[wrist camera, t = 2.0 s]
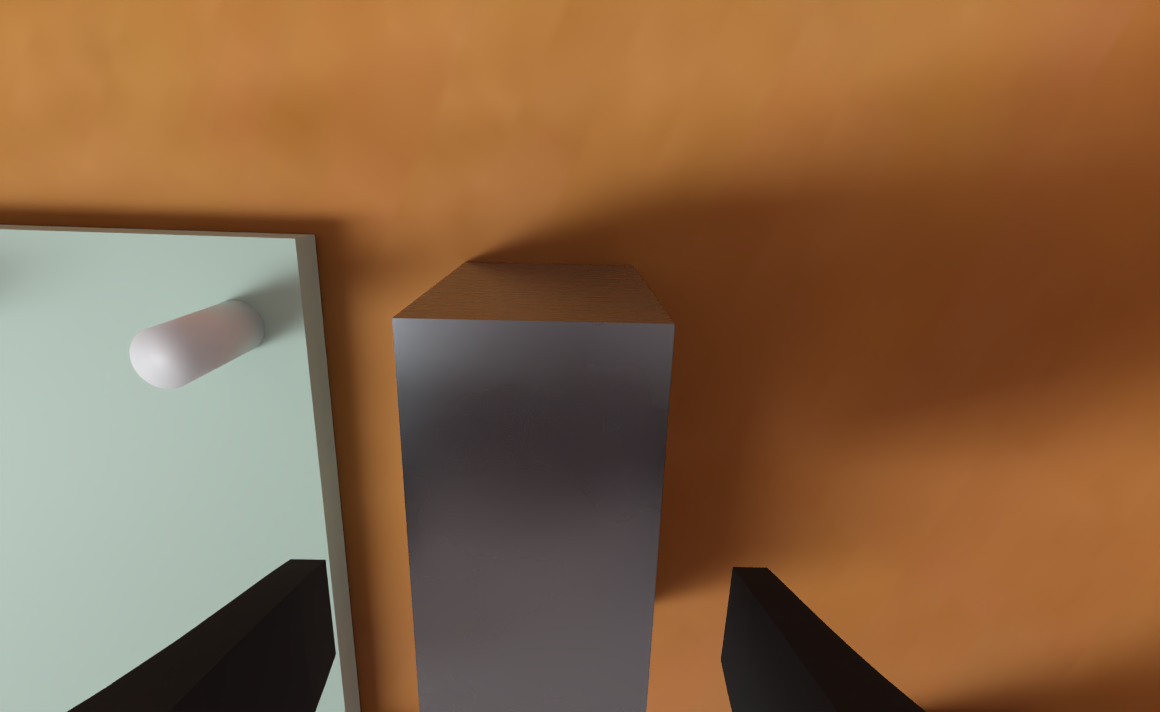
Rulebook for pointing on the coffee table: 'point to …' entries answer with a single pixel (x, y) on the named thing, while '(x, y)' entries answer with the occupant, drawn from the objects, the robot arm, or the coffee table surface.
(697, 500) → the coffee table surface
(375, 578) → the coffee table surface
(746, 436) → the coffee table surface
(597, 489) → the block
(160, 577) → the pin tray
